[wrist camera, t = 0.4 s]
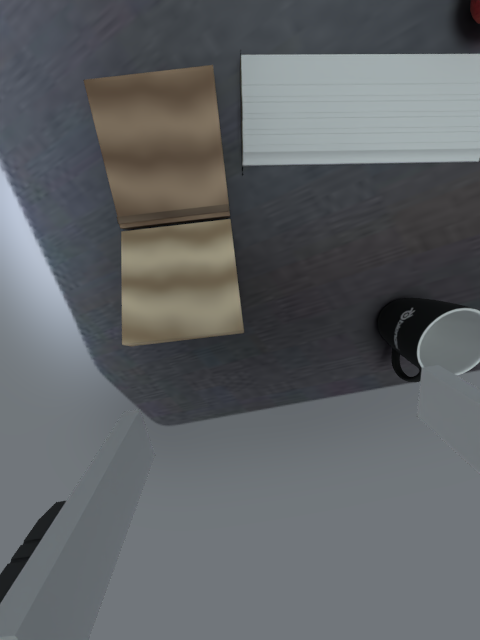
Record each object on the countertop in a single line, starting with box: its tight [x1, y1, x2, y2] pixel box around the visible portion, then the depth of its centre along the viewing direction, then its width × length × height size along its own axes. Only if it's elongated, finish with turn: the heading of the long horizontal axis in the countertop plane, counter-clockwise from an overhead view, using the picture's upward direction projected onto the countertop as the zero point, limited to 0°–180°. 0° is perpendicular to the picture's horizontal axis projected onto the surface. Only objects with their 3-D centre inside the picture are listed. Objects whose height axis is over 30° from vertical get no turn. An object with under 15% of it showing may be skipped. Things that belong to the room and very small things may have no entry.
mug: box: [378, 298, 480, 382], centre depth 33 cm, size 12×9×10 cm
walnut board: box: [84, 65, 230, 229], centre depth 28 cm, size 15×14×2 cm
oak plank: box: [121, 219, 244, 346], centre depth 29 cm, size 14×14×2 cm
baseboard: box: [240, 54, 480, 175], centre depth 28 cm, size 31×3×12 cm
